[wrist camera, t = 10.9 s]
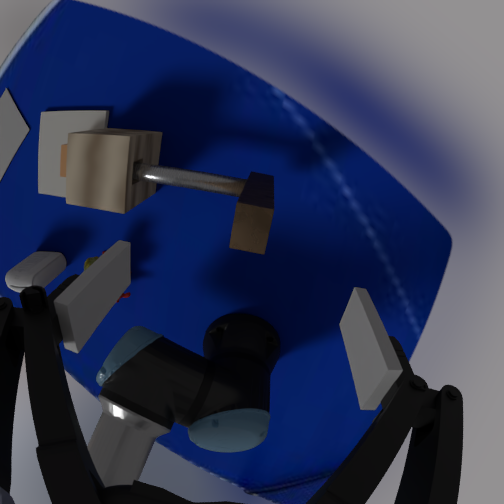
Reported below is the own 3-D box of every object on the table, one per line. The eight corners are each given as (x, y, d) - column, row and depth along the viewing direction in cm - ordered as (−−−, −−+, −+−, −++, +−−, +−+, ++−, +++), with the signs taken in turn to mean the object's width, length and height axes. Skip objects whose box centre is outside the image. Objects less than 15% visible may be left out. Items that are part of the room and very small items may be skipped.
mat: (109, 110, 41) (106, 110, 40) (102, 201, 47) (99, 202, 46) (44, 111, 40) (41, 112, 40) (41, 191, 47) (38, 192, 46)
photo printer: (38, 267, 55) (5, 294, 43) (33, 249, 53) (-2, 275, 42) (69, 269, 54) (35, 300, 43) (64, 250, 52) (28, 279, 41)
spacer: (103, 142, 42) (84, 146, 37) (100, 172, 44) (83, 179, 39) (80, 141, 42) (61, 144, 37) (78, 170, 44) (60, 176, 39)
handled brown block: (273, 175, 38) (274, 209, 24) (267, 204, 40) (264, 254, 25) (97, 150, 38) (24, 171, 23) (96, 176, 39) (25, 207, 25)
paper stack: (52, 162, 45) (50, 163, 44) (7, 234, 52) (6, 235, 52) (8, 88, 38) (6, 88, 37) (-31, 166, 45) (-33, 166, 45)
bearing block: (162, 132, 42) (130, 136, 32) (155, 192, 46) (124, 213, 36) (108, 128, 42) (68, 133, 32) (104, 185, 46) (66, 203, 36)
